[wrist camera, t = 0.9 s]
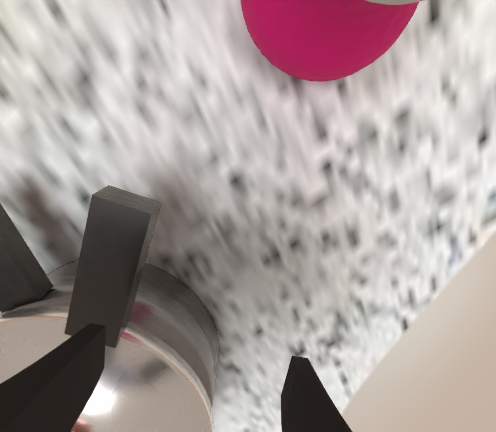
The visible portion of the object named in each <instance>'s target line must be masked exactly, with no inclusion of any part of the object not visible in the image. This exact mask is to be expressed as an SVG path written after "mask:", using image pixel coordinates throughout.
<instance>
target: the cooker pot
mask: <svg viewBox="0 0 496 432" xmlns="http://www.w3.org/2000/svg"><path fill="white" fill-rule="evenodd" d="M78 263H79V260H78V261H74V262H71V263H68V264H66V265H64V266H62V267H59V268H57V269H56V270H54V271H53V272H51V273H49V274H48V275H46V274H45V272H44V270H43V269H42V267H41V266H40V264H39V263H38V261H37V260H36V258H35V257H34V255H33V253H32V252H31V250H30V249H29V247H28V246H27V244H26V243H25V241H24V239H23V238H22V236H21V235H20V233H19V232H18V230H17V229H16V227H15V225H14V224H13V222H12V221H11V219H10V218H9V216H8V215H7V213H6V211H5V210H4V208H3V207H2V205H1V204H0V311H1V313H2V314H0V315H3V314H6V313H8V312H13V311H17V310H21V309H26V308H34V307H44V306H60V307H70V302H71V297H72V292H73V287H74V282H75V277H76V272H77V268H78ZM129 322H130V323H132V324H134V325H136V326H138V327H140V328H142V329H144V330H146V331H148V332H149V333H151V334H153V335H154V336H156V337H157V338H159V339H161V340H162V341H163V342H164V343H166V344H167V345H168V346H170V347H171V348H172V349H173V350H175V351H176V352H177V353H178V354H179V355H180V356H181V357H182V358H183V359H184V360H185V361H186V362H187V363H188V364H189V366H190V367H191V368H192V370H193V371H194V372H195V374H196V375H197V376H198V378H199V379H200V381H201V383H202V385H203V386H204V388H205V390H206V393H207V395H208V398H209V400H210V403H211V407H212V405H213V397H214V390H215V382H216V375H217V367H218V359H219V339H218V335H217V331H216V327H215V325H214V322H213V320H212V317H211V315H210V314H209V312H208V310H207V309H206V307H205V305H204V304H203V303H202V302H201V300H200V299H199V298H198V296H197V295H196V294H195V293H194V292H193V291H192V290H191V289H190V288H189V287H187V286H186V285H185V284H183V283H182V282H181V281H180V280H178V279H177V278H175V277H174V276H172V275H170V274H169V273H167V272H165V271H163V270H161V269H159V268H157V267H155V266H152V265H149V264H146V263H145V265H144V268H143V272H142V276H141V279H140V283H139V287H138V290H137V294H136V298H135V301H134V305H133V309H132V312H131V316H130V319H129Z"/></svg>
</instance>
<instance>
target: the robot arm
mask: <svg viewBox="0 0 496 432" xmlns="http://www.w3.org/2000/svg"><path fill="white" fill-rule="evenodd" d="M105 340H106V326H105V325H99V324H92V323H90V324H88V325H87V326H85V327H84V328H82V329H81V330H80V331H78V332H77V333H75V334H74V335H73V336H71V337H70V338H69V339H67V340H66V341H64V342H63V343H62V344H60V345H59V346H58V347H56V348H55V349H53V350H52V351H50V352H49V353H47V354H46V355H45V356H43V357H42V358H40V359H39V360H37V361H36V362H34V363H33V364H31V365H30V366H28V367H26V368H25V369H23V370H22V371H20V372H19V373H17V374H15V375H14V376H12V377H11V378H9V379H7V380H6V381H4V382H2V383H1V384H0V432H70V431H71V430H72V428H73V426H74V425H75V423H76V421H77V420H78V418H79V416H80V415H81V413H82V411H83V410H84V408H85V406H86V404H87V403H88V401H89V399H90V398H91V396H92V394H93V392H94V390H95V388H96V385H97V383H98V381H99V379H100V377H101V374H102V372H103V370H104V363H105ZM281 425H282V432H352V431H351V429H350V428H349V426H348V425H347V424H346V422H345V421H344V419H343V417H342V416H341V414H340V413H339V411H338V410H337V408H336V407H335V405H334V403H333V402H332V400H331V398H330V397H329V395H328V393H327V392H326V390H325V388H324V387H323V385H322V383H321V381H320V380H319V378H318V376H317V374H316V372H315V370H314V369H313V367H312V365H311V363H310V361H309V360H308V358H303V357H297V356H292V358H291V361H290V365H289V369H288V372H287V376H286V380H285V383H284V387H283V390H282V394H281Z"/></svg>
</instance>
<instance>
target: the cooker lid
mask: <svg viewBox="0 0 496 432" xmlns="http://www.w3.org/2000/svg"><path fill="white" fill-rule="evenodd" d="M160 207H161V202H158V201H155V200H152V199H149V198H146V197H143V196H140V195H137V194H133V193H130V192H127V191H124V190H121V189H118V188H115V187H112V186H109V185H108V186H107V187H105V188H103V189H102V190H100V191H98V192H96V193H95V194H93V195H92V198H91V203H90V208H89V213H88V218H87V223H86V228H85V233H84V238H83V243H82V248H81V253H80V258H79V263H78V268H77V272H76V277H75V282H74V287H73V292H72V297H71V302H70V307H60V306H44V307H34V308H26V309H21V310H17V311H13V312H8V313H6V314H3V315H0V384H1V383H2V382H4V381H6V380H7V379H9V378H11V377H12V376H14V375H15V374H17V373H19V372H20V371H22V370H23V369H25V368H26V367H28V366H30V365H31V364H33V363H34V362H36V361H37V360H39V359H40V358H42V357H43V356H45V355H46V354H47V353H49V352H50V351H52V350H53V349H55V348H56V347H58V346H59V345H60V344H62V343H63V342H64V341H66V340H67V339H69V338H70V337H71V336H73V335H74V334H75V333H77V332H78V331H80V330H81V329H82V328H84V327H85V326H87V325H88V324H90V323H92V324H99V325H105V326H106V340H105V363H104V370H103V372H102V374H101V377H100V379H99V381H98V383H97V385H96V388H95V390H94V392H93V394H92V396H91V398H90V399H89V401H88V403H87V404H86V406H85V408H84V410H83V411H82V413H81V415H80V416H79V418H78V420H77V421H76V423H75V425H74V426H73V428H72V430H71V431H70V432H214V417H213V412H212V407H211V403H210V400H209V398H208V395H207V393H206V390H205V388H204V386H203V385H202V383H201V381H200V379H199V378H198V376H197V375H196V374H195V372H194V371H193V370H192V368H191V367H190V366H189V364H188V363H187V362H186V361H185V360H184V359H183V358H182V357H181V356H180V355H179V354H178V353H177V352H176V351H175V350H173V349H172V348H171V347H170V346H168V345H167V344H166V343H164V342H163V341H162V340H161V339H159V338H157V337H156V336H154V335H153V334H151V333H149V332H148V331H146V330H144V329H142V328H140V327H138V326H136V325H134V324H132V323H130V322H129V319H130V316H131V312H132V309H133V305H134V301H135V298H136V294H137V290H138V287H139V283H140V279H141V276H142V272H143V268H144V265H145V261H146V258H147V254H148V250H149V247H150V243H151V239H152V236H153V232H154V228H155V225H156V221H157V217H158V214H159V210H160Z"/></svg>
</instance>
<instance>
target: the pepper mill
mask: <svg viewBox="0 0 496 432" xmlns="http://www.w3.org/2000/svg"><path fill="white" fill-rule="evenodd" d="M419 1H423V0H241V6H242V11H243V16H244V20H245V23H246V25H247V28H248V31H249V33H250V35H251V37H252V39H253V41H254V43H255V44H256V46H257V47H258V49H259V50H260V51H261V53H262V54H263V55H264V56H265V57H266V58H267V59H268V60H269V61H270V62H271V63H272V64H273V65H274V66H276V67H277V68H279V69H280V70H282V71H283V72H285V73H287V74H289V75H292V76H294V77H296V78H300V79H304V80H309V81H329V80H336V79H339V78H342V77H346V76H349V75H352V74H353V73H355V72H357V71H359V70H360V69H362V68H364V67H366V66H367V65H369V64H371V63H372V62H374V61H375V60H376V59H377V58H379V57H380V56H381V55H383V54H384V53H385V52H386V51H387V50H388V49H389V48H390V47H391V46H392V45H393V44H394V43H395V41H396V40H397V38H398V37H399V36H400V34H401V33H402V31H403V30H404V28H405V27H406V26H407V24H408V22H409V21H410V19H411V17H412V16H413V14H414V12H415V10H416V8H417V5H418V3H419Z"/></svg>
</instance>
